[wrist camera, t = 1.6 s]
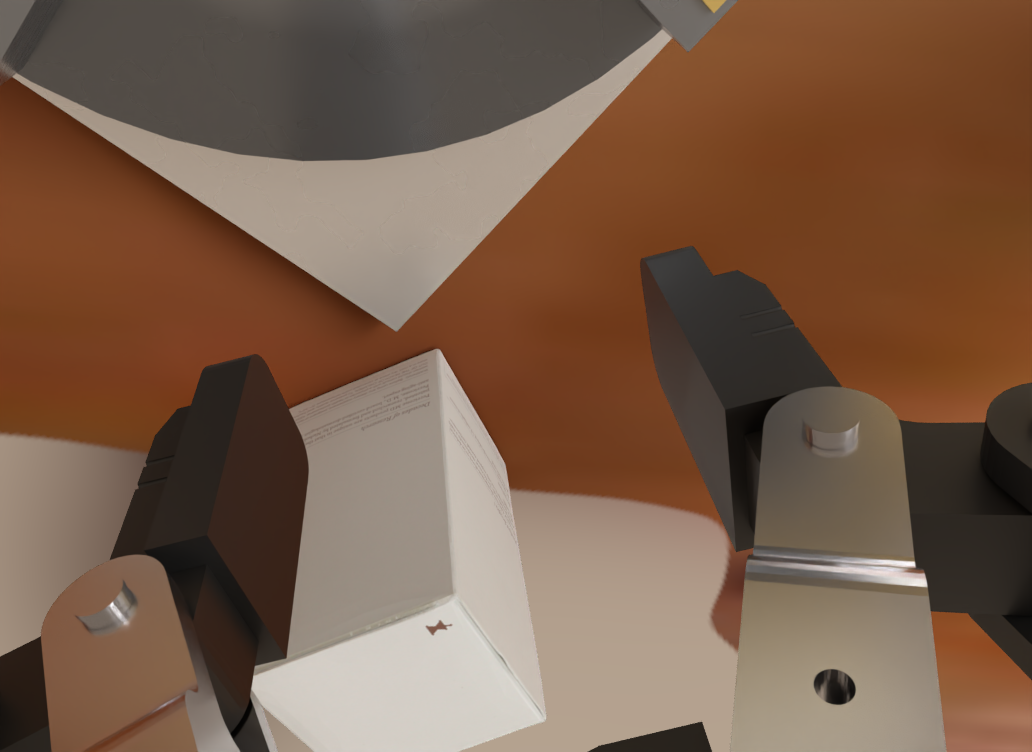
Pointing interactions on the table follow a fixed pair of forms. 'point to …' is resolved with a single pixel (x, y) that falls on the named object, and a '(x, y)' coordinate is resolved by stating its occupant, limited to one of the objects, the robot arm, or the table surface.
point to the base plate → (375, 194)
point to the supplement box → (404, 576)
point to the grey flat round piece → (330, 65)
